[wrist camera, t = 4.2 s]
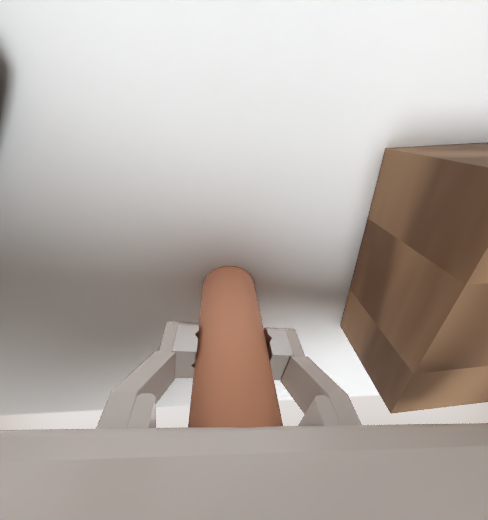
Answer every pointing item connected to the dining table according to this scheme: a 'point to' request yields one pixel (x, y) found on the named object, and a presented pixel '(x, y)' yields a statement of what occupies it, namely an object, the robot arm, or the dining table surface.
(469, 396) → the socket block
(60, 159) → the dining table surface
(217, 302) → the peg
